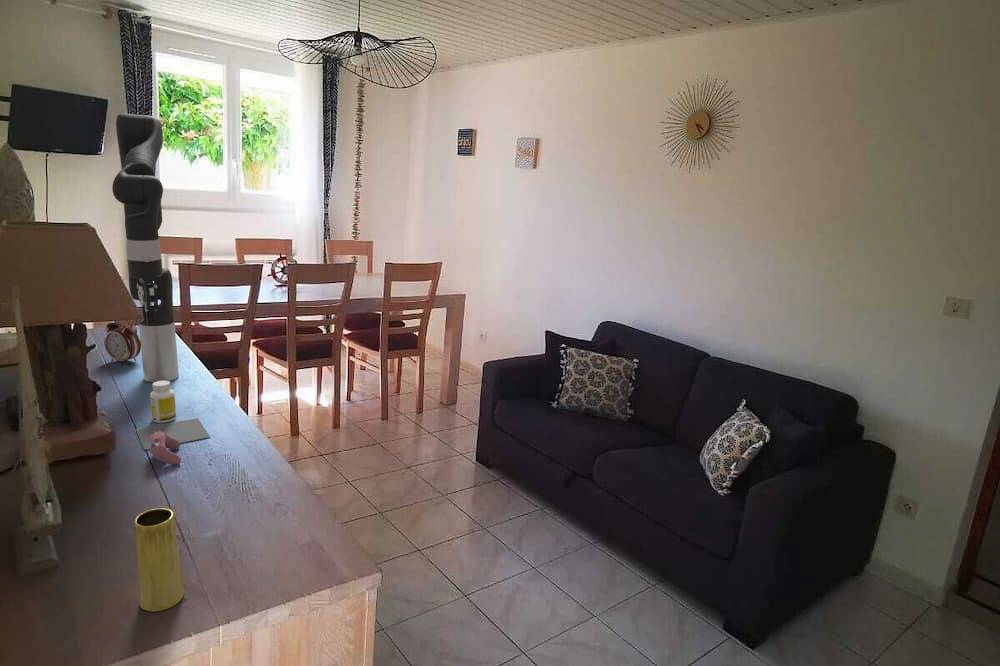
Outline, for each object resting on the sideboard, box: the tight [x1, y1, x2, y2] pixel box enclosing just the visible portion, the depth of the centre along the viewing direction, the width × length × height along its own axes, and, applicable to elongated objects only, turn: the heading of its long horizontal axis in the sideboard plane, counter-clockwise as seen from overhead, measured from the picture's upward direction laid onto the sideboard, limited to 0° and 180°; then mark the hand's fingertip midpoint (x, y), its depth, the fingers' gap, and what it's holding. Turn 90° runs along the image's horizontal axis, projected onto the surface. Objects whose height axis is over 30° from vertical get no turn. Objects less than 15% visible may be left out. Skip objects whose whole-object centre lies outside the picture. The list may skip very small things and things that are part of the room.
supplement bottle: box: [149, 381, 177, 424], centre depth 159 cm, size 5×5×10 cm
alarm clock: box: [103, 322, 141, 365], centre depth 198 cm, size 11×5×15 cm, turn 73°
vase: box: [133, 507, 185, 612], centre depth 95 cm, size 6×6×14 cm
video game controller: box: [149, 431, 182, 466], centre depth 140 cm, size 10×5×7 cm, turn 28°
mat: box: [135, 417, 211, 451], centre depth 152 cm, size 13×14×1 cm
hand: (150, 322), depth 161 cm, fingers open, 5 cm apart
